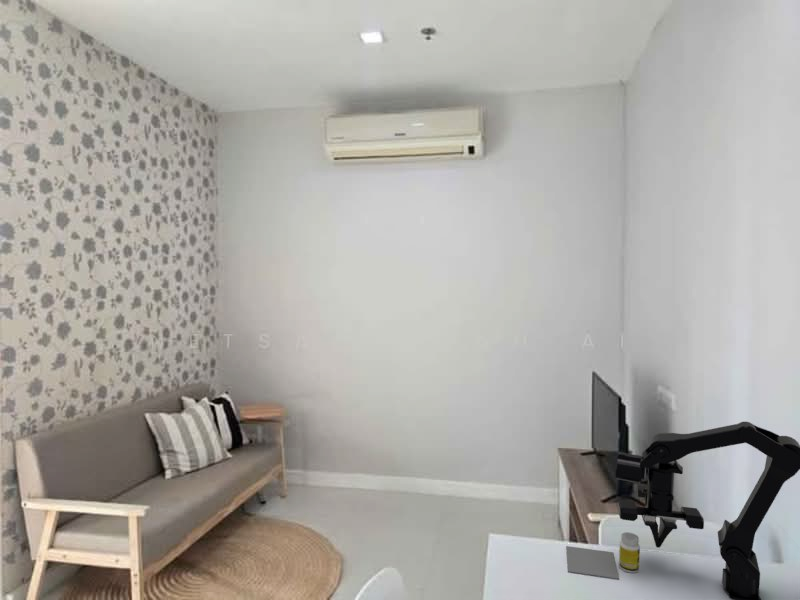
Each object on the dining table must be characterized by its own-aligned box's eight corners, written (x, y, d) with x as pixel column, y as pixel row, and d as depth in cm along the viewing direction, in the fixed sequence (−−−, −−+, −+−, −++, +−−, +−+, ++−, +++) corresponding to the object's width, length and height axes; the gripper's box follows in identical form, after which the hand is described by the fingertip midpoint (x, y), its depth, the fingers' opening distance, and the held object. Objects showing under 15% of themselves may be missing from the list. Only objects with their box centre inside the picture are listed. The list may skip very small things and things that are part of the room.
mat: (613, 553, 143) (613, 552, 143) (619, 579, 132) (619, 578, 131) (566, 547, 146) (566, 545, 146) (567, 572, 135) (568, 571, 135)
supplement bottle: (641, 574, 134) (642, 542, 133) (620, 572, 135) (622, 540, 134) (636, 563, 138) (637, 532, 138) (617, 561, 139) (618, 530, 139)
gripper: (693, 477, 138) (690, 535, 140) (616, 469, 143) (613, 525, 144) (706, 496, 127) (702, 559, 129) (621, 487, 132) (619, 547, 134)
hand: (657, 546), depth 134 cm, fingers closed
